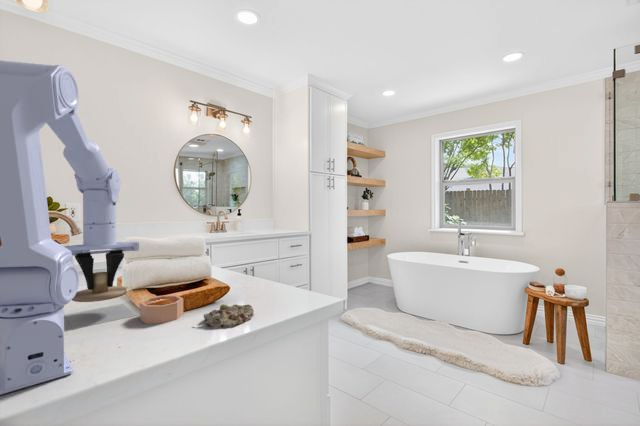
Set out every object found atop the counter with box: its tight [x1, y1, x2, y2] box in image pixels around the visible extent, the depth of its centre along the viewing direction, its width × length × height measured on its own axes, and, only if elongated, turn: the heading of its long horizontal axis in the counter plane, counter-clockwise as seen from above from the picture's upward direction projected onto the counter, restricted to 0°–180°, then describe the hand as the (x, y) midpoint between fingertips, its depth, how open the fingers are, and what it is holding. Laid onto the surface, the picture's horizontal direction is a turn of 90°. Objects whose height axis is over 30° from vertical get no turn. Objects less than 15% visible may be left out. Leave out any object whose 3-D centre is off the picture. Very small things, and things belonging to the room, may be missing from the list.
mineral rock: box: [203, 303, 255, 329], centre depth 67 cm, size 11×4×8 cm
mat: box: [64, 303, 138, 330], centre depth 68 cm, size 11×11×1 cm
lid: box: [71, 271, 127, 303], centre depth 67 cm, size 10×10×5 cm
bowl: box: [139, 295, 184, 324], centre depth 67 cm, size 8×8×4 cm
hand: (100, 287), depth 67 cm, fingers closed on lid, 3 cm apart
